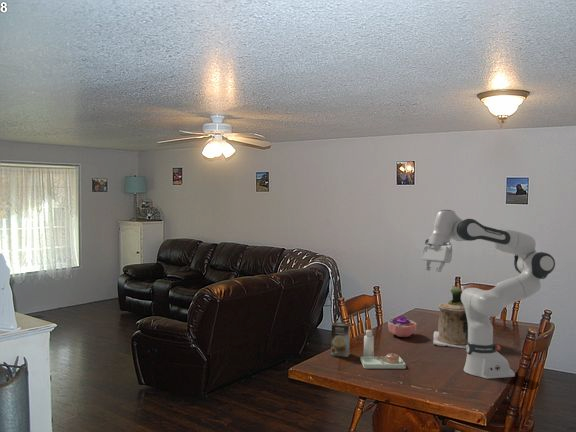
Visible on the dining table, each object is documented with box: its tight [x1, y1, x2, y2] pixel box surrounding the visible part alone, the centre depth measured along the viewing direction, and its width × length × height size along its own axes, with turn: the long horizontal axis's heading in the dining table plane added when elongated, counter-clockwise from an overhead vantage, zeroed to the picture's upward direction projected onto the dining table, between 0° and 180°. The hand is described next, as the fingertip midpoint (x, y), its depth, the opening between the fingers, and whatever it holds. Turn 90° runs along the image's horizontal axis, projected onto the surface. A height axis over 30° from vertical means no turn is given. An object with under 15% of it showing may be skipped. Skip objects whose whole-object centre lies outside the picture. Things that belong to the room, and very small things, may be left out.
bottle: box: [363, 329, 375, 357], centre depth 261 cm, size 5×5×14 cm
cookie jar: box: [432, 285, 468, 349], centre depth 290 cm, size 25×25×32 cm
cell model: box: [387, 315, 418, 338], centre depth 302 cm, size 17×20×11 cm
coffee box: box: [330, 321, 351, 358], centre depth 266 cm, size 9×6×16 cm
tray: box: [359, 355, 407, 370], centre depth 251 cm, size 20×12×2 cm, turn 91°
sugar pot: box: [385, 353, 400, 364], centre depth 251 cm, size 6×6×6 cm
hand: (432, 270), depth 240 cm, fingers open, 8 cm apart
